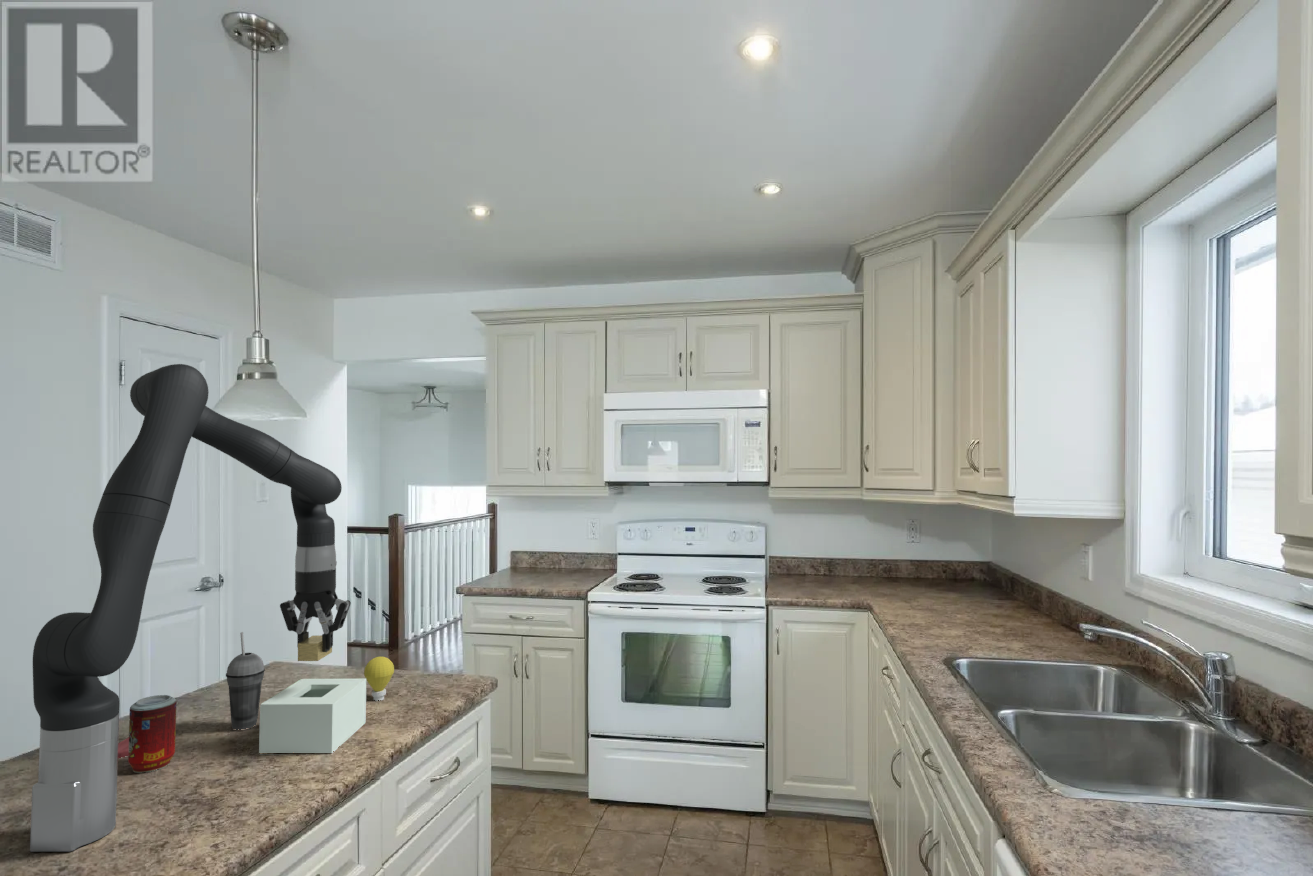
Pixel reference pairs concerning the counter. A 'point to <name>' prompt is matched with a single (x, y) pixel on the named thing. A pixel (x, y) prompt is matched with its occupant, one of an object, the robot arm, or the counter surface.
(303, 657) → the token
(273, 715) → the box
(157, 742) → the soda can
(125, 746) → the popsicle
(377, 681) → the light bulb
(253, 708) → the beverage cup
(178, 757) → the counter surface
